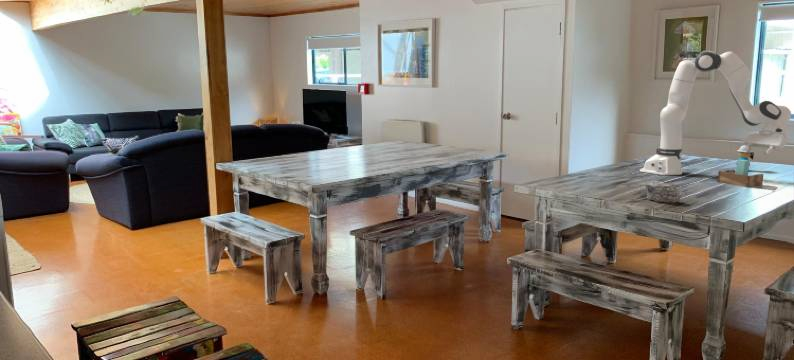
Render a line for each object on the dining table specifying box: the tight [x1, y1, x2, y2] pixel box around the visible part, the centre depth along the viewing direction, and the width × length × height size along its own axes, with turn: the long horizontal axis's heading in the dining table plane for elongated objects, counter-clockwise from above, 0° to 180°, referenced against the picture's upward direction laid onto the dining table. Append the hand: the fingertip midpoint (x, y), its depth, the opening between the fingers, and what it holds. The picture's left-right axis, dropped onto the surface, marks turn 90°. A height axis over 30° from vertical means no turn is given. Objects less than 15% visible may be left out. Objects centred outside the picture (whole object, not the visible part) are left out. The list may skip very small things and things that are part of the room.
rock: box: [644, 181, 682, 204], centre depth 284 cm, size 16×8×10 cm, turn 49°
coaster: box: [755, 184, 778, 193], centre depth 311 cm, size 8×9×1 cm
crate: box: [717, 168, 764, 188], centre depth 321 cm, size 12×16×6 cm
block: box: [735, 159, 750, 176], centre depth 321 cm, size 4×4×12 cm
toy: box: [735, 144, 755, 167], centre depth 364 cm, size 8×9×15 cm
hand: (756, 152), depth 324 cm, fingers open, 8 cm apart
